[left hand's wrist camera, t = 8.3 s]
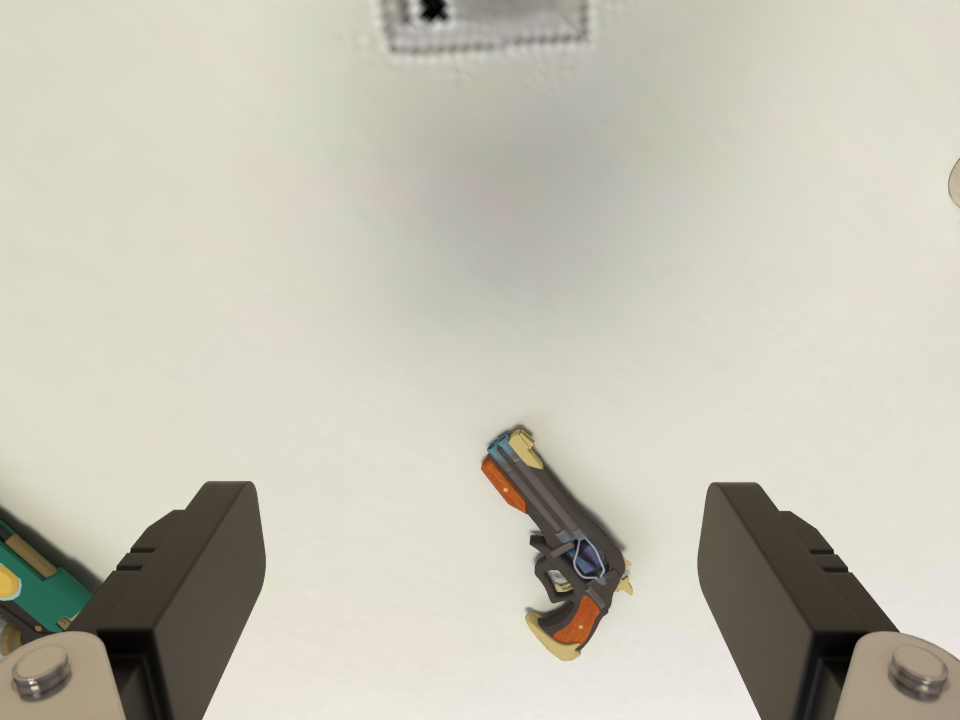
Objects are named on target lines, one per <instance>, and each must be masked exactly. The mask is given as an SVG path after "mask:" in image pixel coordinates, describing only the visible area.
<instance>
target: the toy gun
mask: <svg viewBox="0 0 960 720" xmlns="http://www.w3.org/2000/svg"><path fill="white" fill-rule="evenodd" d="M533 442H535V440H534V439H533V438H531V437H530V436H529V435H528V434H527V433H526V432H525V431H524V430H523V429H522V430H520V429H518V430H516V431H514V432H513V433H512V434H511V435H510V437H509V436H508V435H507V434H504V435H503V436H501V437H500V438H499V439H498V440H497V442H494V443H493V444H491V445H490V446H489V447H488V448H487V451H488V452H489V454H488V455H489V457H488V458H487V459H485V460H484V461H483V463H482V467H481V470H482V471H483V472H484V474H485V475H486V476H487V478H488V479H489V480H490V481H491V483H492V484H493V485H494V486H495V488H496V489H497V490H498V492H499V493H500V494H501V495H502V497H503V498H504V499H505V500H506V502H507V503H508V504H509V505H511V506H513V507H515V508H517V509H518V510H520V511H522V512H524V513H525V514H528V515H529V516H530V517H531V518H532V520H533V521H534V522H535V523H536V524H537V526H538V527H539V528H540V530H541V531H542V533H543V535H544V536H536V535H531V536H530V545H531V546H533V547H534V548H536V549H538V550H539V551H540V552H542V553H543V554H544V555H545V556H544V557H542V558H540V559H539V560H538V561H537V563H536V565H535V575H536V576H537V577H538V579H539V580H540V581H541V582H542V584H543V585H544V587H545V589H546V591H547V593H548V596H549V599H550V601H551V602H552V603H557V602H560V601H565V600H571V601H572V602H571V604H570V605H569V606H568V608H567V609H566V610H565V611H564V612H562V613H561V614H558V615H555V616H552V617H548V618H543V617H542V616H540V615H538V614H536V613H532V612H531V613H529V614H528V615H527V616H526V617H525V619H526V622H527V624H528V626H529V627H530V629H531V630H532V632H533V633H534V634H535V635H536V637H537V638H538V639H539V641H540V642H541V643H542V644H543V645H544V646H545V647H546V649H548V650H549V651H550V652H551V653H552V654H553V655H555V656H556V657H558V658H559V659H561V660H563V661H570V660H573V659H575V658H577V657H578V656H580V654H581V649H582V648H583V647H584V646H585V645H586V644H587V643H588V641H589V640H590V639H591V637H592V635H593V634H594V632H595V630H596V628H597V626H598V624H599V622H600V620H601V619H602V617H603V616H605V615H606V614H607V613H608V609H609V608H610V606H611V603H612V596H613V593H614V592H617V591H620V590H625V591H626V592H627V593H629V594H630V595H632V594H633V590H632V587H631V585H630V583H629V577H628V576H625V577H624V578H622V575H623V573H624V570H625V568H627V567H628V566H630V565H631V564H630V563H629V562H628V561H627V560H626V559H625V558H624V557H623V556H622V554H621V553H620V551H619V550H618V549H617V548H616V547H615V545H614V544H613V543H612V542H611V540H610V539H609V538H608V537H607V535H606V534H605V533H604V532H603V531H602V530H601V529H600V528H599V527H598V526H597V525H596V524H595V523H594V522H592V521H591V520H590V519H589V518H588V517H586V516H585V515H584V514H583V513H582V512H581V511H580V510H579V509H578V508H577V507H576V505H575V504H574V503H573V502H572V500H571V499H570V498H569V497H568V496H567V494H566V493H565V492H564V491H563V489H562V488H561V487H560V486H559V484H558V483H557V482H556V481H555V479H554V478H553V477H552V476H551V474H550V473H549V472H548V471H547V469H546V468H545V467H544V465H543V463H542V462H541V460H540V459H539V458H538V456H537V455H536V454H535V453H534V451H533V450H532V449H531V447H532V446H534V443H533ZM566 551H567V552H568V553H569V555H570V556H571V557H572V558H573V559H574V560H573V561H572V560H571V559H570V558H569V557H568V556H567V555H566V554H565V552H566ZM603 554H604V555H605V557H606V559H607V561H608V564H606V565H604V566H603V560H604V556H603ZM575 562H576V563H577V564H578V566H579V567H580V568H581V569H582V570H583V572H584V573H585V574H586V573H589V574H587V575H584V574H583V573H582V572H581V570H580V569H579V568H578V567H577V566H576V565H575ZM549 570H559V571H560V573H561V574H562V575H563V576H564V577H565V578H566V580H567V581H568V583H566V584H563V585H559V584H558V583H557V582H555V587H554V585H553V583H552V580H551V578H550V577H549V575H548V574H547V572H546V571H549ZM570 585H571V586H570ZM567 586H570V587H567ZM565 587H566V588H565ZM555 588H556V589H557V590H569V591H566V592H557V591H556V589H555ZM570 589H571V590H570Z"/></svg>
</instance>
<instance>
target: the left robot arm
mask: <svg viewBox="0 0 960 720" xmlns="http://www.w3.org/2000/svg"><path fill="white" fill-rule="evenodd" d="M697 564H698V576H699V582H700V586H701V589H702V592H703V595H704V597H705V599H706V601H707V603H708V605H709V608H710V610H711V612H712V614H713V616H714V618H715V621H716V623H717V625H718V627H719V629H720V631H721V633H722V636H723V638H724V640H725V642H726V644H727V646H728V649H729V651H730V653H731V655H732V657H733V659H734V662H735V664H736V666H737V668H738V670H739V672H740V674H741V677H742V679H743V681H744V683H745V685H746V687H747V690H748V692H749V694H750V696H751V698H752V700H753V702H754V705H755V707H756V709H757V711H758V713H759V715H760V718H761V720H960V660H959V659H957V658H956V657H955V656H953V655H952V654H950V653H949V652H947V651H946V650H944V649H942V648H940V647H939V646H937V645H935V644H933V643H930V642H928V641H926V640H924V639H921V638H918V637H915V636H912V635H908V634H904V633H900V631H899V630H898V629H897V628H896V627H895V625H894V624H893V623H892V622H891V620H890V619H889V618H888V617H887V615H886V614H885V613H884V612H883V610H882V609H881V608H880V607H879V605H878V604H877V603H876V602H875V601H874V599H873V598H872V597H871V596H870V594H869V593H868V592H867V591H866V589H865V588H864V587H863V586H862V584H861V583H860V582H859V581H858V580H857V578H856V577H855V576H854V575H853V573H852V572H848V567H847V566H846V565H845V563H844V562H843V561H842V560H841V559H840V557H839V556H838V555H837V554H834V550H833V549H832V547H831V546H830V545H829V544H828V542H827V541H826V540H825V539H824V537H823V536H822V535H821V534H820V533H819V531H818V530H817V529H816V528H814V527H813V526H811V525H810V524H808V523H807V522H805V521H804V520H802V519H801V518H800V517H798V516H797V515H795V514H794V513H792V512H791V511H779V510H778V509H777V507H776V506H775V505H774V503H773V502H772V501H771V499H770V498H769V497H768V495H767V494H766V493H765V491H764V490H763V489H762V487H761V486H760V485H759V484H757V483H755V482H714V483H711V484H710V486H709V488H708V490H707V495H706V501H705V508H704V515H703V522H702V529H701V536H700V543H699V550H698V561H697ZM265 568H266V555H265V547H264V540H263V533H262V526H261V519H260V512H259V504H258V497H257V491H256V488H255V486H254V484H253V483H252V482H251V481H208V482H206V483H205V484H204V485H203V486H202V487H201V489H200V490H199V491H198V493H197V494H196V495H195V497H194V498H193V499H192V501H191V502H190V503H189V505H188V506H187V508H186V509H185V510H173V511H171V512H170V513H168V514H167V515H165V516H164V517H163V518H161V519H160V520H158V521H157V522H155V523H154V524H152V525H151V526H149V527H148V528H147V529H146V530H145V531H144V533H143V534H142V535H141V536H140V538H139V539H138V540H137V541H136V543H135V544H134V545H133V546H132V548H131V551H130V553H127V554H126V555H125V556H124V558H123V559H122V560H121V561H120V563H119V564H118V565H117V569H116V571H112V573H111V574H110V575H109V576H108V578H107V579H106V580H105V581H104V583H103V584H102V585H101V586H100V587H99V589H98V590H97V591H96V592H95V594H94V595H93V596H92V597H91V599H90V600H89V601H88V602H87V604H86V605H85V606H84V607H83V609H82V610H81V611H80V612H79V614H78V615H77V616H76V617H75V619H74V620H73V621H72V622H71V624H70V625H69V626H68V627H67V629H66V630H65V631H64V632H61V633H56V634H52V635H48V636H45V637H42V638H39V639H36V640H34V641H32V642H30V643H27V644H25V645H23V646H21V647H20V648H18V649H16V650H14V651H13V652H11V653H10V654H8V655H7V656H5V657H4V658H3V659H1V660H0V720H202V718H203V716H204V714H205V712H206V710H207V708H208V705H209V703H210V701H211V699H212V697H213V694H214V692H215V690H216V688H217V686H218V684H219V681H220V679H221V677H222V675H223V673H224V670H225V668H226V666H227V664H228V662H229V660H230V657H231V655H232V653H233V651H234V649H235V646H236V644H237V642H238V640H239V638H240V636H241V633H242V631H243V629H244V627H245V625H246V622H247V620H248V618H249V616H250V614H251V612H252V609H253V607H254V605H255V603H256V601H257V598H258V596H259V594H260V592H261V589H262V586H263V582H264V577H265Z"/></svg>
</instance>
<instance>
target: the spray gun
mask: <svg viewBox="0 0 960 720" xmlns="http://www.w3.org/2000/svg"><path fill="white" fill-rule="evenodd" d="M92 596H93V594H92V593H91V592H90V591H89V590H87V589H86V588H85V587H84V586H83V585H82V584H81V583H79V582H78V581H77V580H76V579H75V578H74V577H73V576H71V575H70V574H69V573H68V572H67V571H66V570H65V569H63V568H62V567H58V568H56V567H55V566H54V565H53V564H52V563H51V562H49V561H48V560H47V559H46V558H45V557H44V556H42V555H41V554H40V553H39V552H38V551H37V550H35V549H34V548H33V547H32V546H31V545H30V544H28V543H27V542H26V541H25V540H24V539H23V538H21V537H20V536H19V535H18V534H17V533H16V532H14V531H13V530H12V529H11V528H10V527H9V526H7V525H6V524H5V523H4V522H3V521H2V520H0V660H1V659H3V658H4V657H5V656H7V655H8V654H10V653H11V652H13V651H14V650H16V649H18V648H20V647H21V646H23V645H25V644H27V643H30V642H32V641H34V640H36V639H39V638H42V637H45V636H48V635H52V634H56V633H61V632H64V631H65V630H66V629H67V627H68V626H69V625H70V624H71V622H72V621H73V620H74V619H75V617H76V616H77V615H78V614H79V612H80V611H81V610H82V609H83V607H84V606H85V605H86V604H87V602H88V601H89V600H90V599H91V597H92Z"/></svg>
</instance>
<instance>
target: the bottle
mask: <svg viewBox="0 0 960 720" xmlns="http://www.w3.org/2000/svg"><path fill="white" fill-rule="evenodd" d="M949 191H950V195H951V197H952V199H953V201H954V202H955V203H956V204H957V205H958V206H959V207H960V160H959V161H958V162H957V164H956V165H955V167H954V169H953V171H952V173H951V176H950V180H949Z"/></svg>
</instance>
